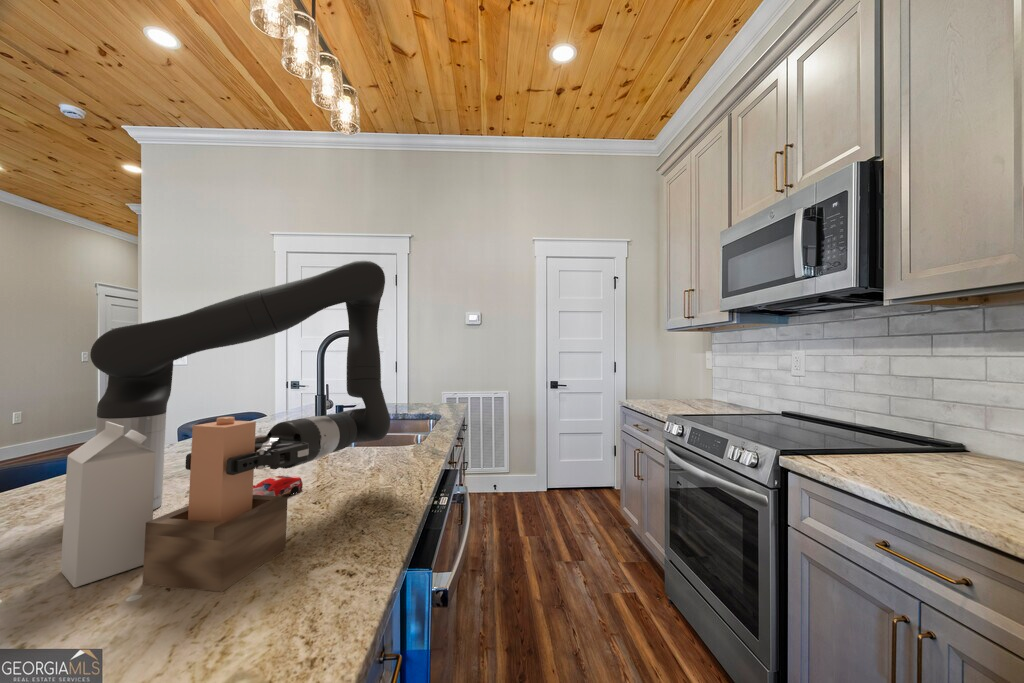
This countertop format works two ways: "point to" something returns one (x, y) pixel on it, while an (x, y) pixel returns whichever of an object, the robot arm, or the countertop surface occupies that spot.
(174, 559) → the wooden box
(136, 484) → the milk carton
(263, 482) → the race car
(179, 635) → the countertop surface
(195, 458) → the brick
